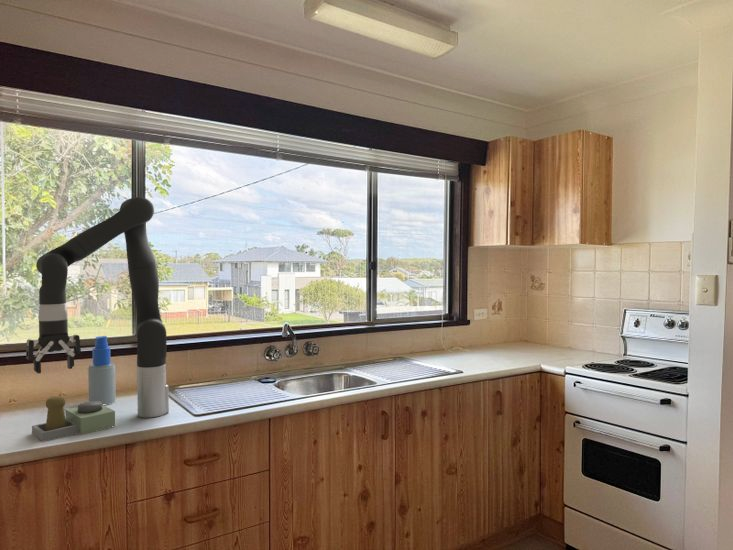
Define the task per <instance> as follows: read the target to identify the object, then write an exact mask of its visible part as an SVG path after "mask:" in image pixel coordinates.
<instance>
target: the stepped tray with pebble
mask: <svg viewBox="0 0 733 550" xmlns="http://www.w3.org/2000/svg"><path fill="white" fill-rule="evenodd" d="M64 412H65V419H66V425H67V427H63V428H59V429H54V430H50V431H45V428H46V422H44V423H39V424H35V425H33V424H32V425H31V435H33V436H34V437H35V438H37V439H38V440H39V439H40V440H39V441H41V442H46V441H50V440H51V441H52V440H55V439H59V437H60V438H63V436H64V437H67V436H71V435H76V433H77V434H81V435H85V434H88V433H89V432H90V433H93V431H94V432H96V430H98V431H101V430H100V429H102V430H105V429H104V428H106V429H109V428H108V427H111V428H113V427H112V426H115V427H116V410H114V409H111V408H109V407H107V405H102V402H100V401H90V402H89V401H86V402H80V403H79V404H77V406H76V407H70V408H66V409H65V408H64ZM84 433H85V434H84Z"/></svg>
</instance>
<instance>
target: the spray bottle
mask: <svg viewBox="0 0 733 550" xmlns="http://www.w3.org/2000/svg"><path fill="white" fill-rule="evenodd" d="M87 372H88V374H87V376H88V402H90V401H100V402H102V405H103V404H108V405H110V404H109V403H112V404H114V403H116V401H115V400H117V399H116V365H115V362H111V347H109V343H108V336H107V335H102V336H95V344H94V347H93V348H92V363H91V364H89V365H88V369H87ZM113 402H114V403H113ZM103 406H104V405H103Z"/></svg>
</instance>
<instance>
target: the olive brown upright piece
mask: <svg viewBox="0 0 733 550" xmlns="http://www.w3.org/2000/svg"><path fill="white" fill-rule="evenodd" d="M65 406H66V398H65V397H64V396H62V395H57V396H52V397H51V396H50V397H48V398H47V399H46V401H45V407H46V408H47V415H46V419H45V420H46V422H45V423H46V428H45V431H50V430H54V429H59V428H63V427H67V425H66V412H65V408H64V407H65Z"/></svg>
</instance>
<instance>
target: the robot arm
mask: <svg viewBox="0 0 733 550" xmlns="http://www.w3.org/2000/svg"><path fill="white" fill-rule="evenodd" d="M154 214H155V207H154V204H153V203H152V202H151V200H149V199H148V198H146V197H143V196H135V197H131V198H128V199H126V200H125V201H123V202H122V203H121V204H120V207H119V211H117V212H116V213H115V214H113V215H112V216H110V217H108V218H106V219H105V220H103V221H101V222H99V223H97V224H94V225H93V226H91V227H89V228H87V229H85V230H84V231H82V232H80V233H79V234H77V235H75V236H74V237H72V238H70V239H69V240H68V241H66V242H64V243H63V244H62V245H60V246H57V247H55V248H53V249H51V250H49V251H48V252H45V253H44V254H43V255H41V256H40V257H39V258H38V259H37V261H36V264H35V265H36V269H37V271H38V273H40V274H41V286H40V287H39V290H38V294H39V296H38V297H39V299H38V301H39V302H38V303H39V305H38V316H37V319H38V339H30V338H29V339H27V340H26V348H25V349H26V353H25V359H26V360H29V361H33V370H34V372H35V373H37V374H41V373H42V362H41V359H42V358H43V356H45V355H46V353H53V352H60V351H63V352H65V354H66V355H67V356H66V357H67V358H66V360H67V361H66V363H67V369H69V370H71V369H73V367H74V366H75V356H76V355H79V354H81V353H82V350H81V340H80V335H78V334H73V335H69V329H68V327H69V324H68V323H69V322H68V319H69V318H68V307H67V292H66V286H67V283H68V282H67V280H68V271H69V269H68V267H70V266H71V265H72V264H74V263H76V262H79V261H82V260H84V259H86V258H87V257H89V256H90V255H92V254H93V253H95V252H96V251H98V250H99V249H101V248H102V247H104V246H106V244H108V243H110V241H112V240H114V239H116V237H118V236H120V235H121V234H124V240H125V249H126V250H125V251H126V260H127V269H128V278H129V283H130V288H131V292H132V295H133V296H132V297H133V300H134V303H135V310H136V311H135V312H136V314H135V315H136V328H135V329H136V332H135V333H136V339H137V342H136V349H137V351H136V354H137V356H136V370H137V371H136V374H137V375H136V377H137V378H136V381H137V386H136V388H137V391H136V392H137V398H136V399H137V409H136V410H137V417H140V418H144V419H145V418H156V417H160V416H163V415H165V414H167V413H169V412H170V411H169V410H170V407H169V406H170V404H169V401H170V400H169V399H170V398H169V397H170V396H169V385H168V384H167V370H166V369H167V368H166V367H167V329H166V327H165V324H164V323H163V321H162V318H161V317H162V316H161V313H160V308H159V291H160V290H159V289H160V283H159V279H160V278H159V270H158V263H157V259H156V256H155V254H154V251H153V248H152V247H151V244H150V242H149V239H148V238H149V237H148V233H147V223H148V222H149V221H151V220H152V218H153V217H154ZM69 341H70V342H72V345H73V350H72V349H71V348H70V347H69V346H68V345H67V344H68V343H69ZM37 345H39V346H40V347H39V349H38V350H37V352H36V354H35V355H34V351H35V350H34V348H35V347H36V346H37Z"/></svg>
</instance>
